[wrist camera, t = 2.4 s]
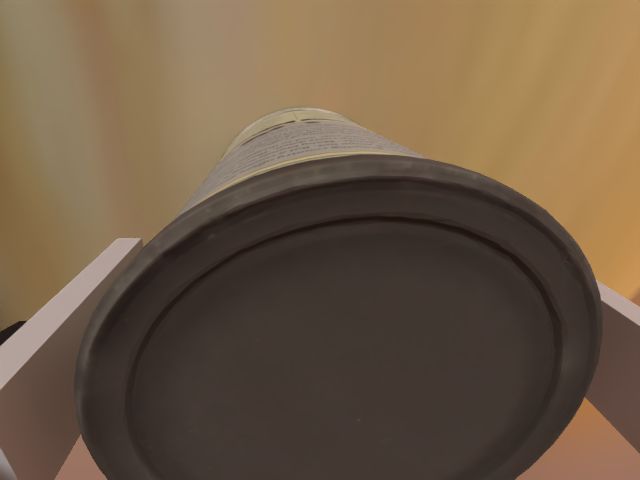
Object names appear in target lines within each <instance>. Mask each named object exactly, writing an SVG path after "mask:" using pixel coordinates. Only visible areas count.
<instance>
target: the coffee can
mask: <svg viewBox="0 0 640 480" xmlns="http://www.w3.org/2000/svg"><path fill="white" fill-rule="evenodd" d="M602 322H603V313H602V303H601V296H600V292H599V289H598V285H597V282H596V279H595V276H594V274H593V271H592V269H591V266H590V264H589V262H588V261H587V259H586V257H585V255H584V254H583V252H582V250H581V248H580V247H579V245H578V244H577V243H576V241H575V240H574V239H573V238H572V236H571V235H570V234H569V233H568V232H567V231H566V230H565V229H564V227H562V226H561V225H560V224H559V223H558V222H557V221H556V220H555V219H554V218H553V217H552V216H551V215H550V214H549V213H548V212H547V211H546V210H545V209H543V208H542V207H540V206H539V205H537V204H536V203H534V202H533V201H532V200H530V199H529V198H527V197H525V196H524V195H522V194H520V193H518V192H517V191H515V190H513V189H512V188H510V187H508V186H506V185H504V184H502V183H500V182H498V181H496V180H494V179H491V178H489V177H487V176H484V175H482V174H480V173H477V172H474V171H471V170H468V169H465V168H461V167H458V166H455V165H452V164H447V163H443V162H439V161H434V160H431V159H429V158H427V157H425V156H423V155H420V154H418V153H416V152H414V151H412V150H410V149H408V148H406V147H404V146H401V145H399V144H397V143H395V142H393V141H391V140H389V139H387V138H385V137H382V136H380V135H378V134H376V133H374V132H372V131H370V130H368V129H365V128H363V127H361V126H359V125H358V124H356V123H355V122H353V121H351V120H350V119H348V118H346V117H344V116H342V115H339V114H337V113H334V112H331V111H328V110H323V109H318V108H306V107H301V108H290V109H283V110H280V111H276V112H274V113H271V114H269V115H266V116H264V117H262V118H260V119H258V120H257V121H255V122H254V123H252V124H251V125H249V126H248V127H246V128H245V129H244V130H243V131H242V132H241V133H240V134H239V135H238V136H237V137H236V138H235V139H234V140H233V142H232V143H231V144H230V146H229V147H228V149H227V150H226V152H225V153H224V155H223V156H222V159H221V160H220V161H219V163H218V164H217V165H216V167H215V168H214V169H213V170H212V172H211V173H210V174H209V176H208V177H207V178H206V180H205V181H204V182H203V184H202V185H201V186H200V187H199V189H198V190H197V191H196V192H195V194H194V195H193V196H192V198H191V199H190V200H189V202H188V203H187V204H186V205H185V207H184V208H183V209H182V211H181V212H180V213H179V214H178V216H177V217H176V218H175V220H174V221H173V222H171V223H170V224H169V225H168V226H166V227H165V228H164V229H163V230H162V231H161V232H160V233H159V234H157V235H156V236H155V237H154V238H153V239H152V240H151V241H150V242H149V243H148V244H147V245H145V246H144V247H143V248H142V249H141V250H140V252H139V253H138V254H137V255H136V256H135V257H134V258H133V259H132V260H131V262H130V263H129V264H128V265H127V266H126V267H125V268H124V270H123V271H122V272H121V273H120V275H119V276H118V277H117V278H116V279H115V280H114V282H113V283H112V284H111V286H110V287H109V289H108V290H107V291H106V293H105V294H104V296H103V297H102V299H101V301H100V302H99V304H98V306H97V307H96V309H95V311H94V312H93V314H92V316H91V318H90V321H89V323H88V325H87V328H86V330H85V332H84V335H83V338H82V341H81V344H80V347H79V351H78V355H77V360H76V368H75V376H74V390H73V391H74V401H75V409H76V417H77V422H78V425H79V428H80V432H81V435H82V438H83V441H84V442H85V444H86V446H87V448H88V450H89V452H90V454H91V456H92V458H93V459H94V461H95V462H96V464H97V466H98V467H99V469H100V470H101V471H102V473H103V474H104V475H105V476H106V478H107V479H108V480H515V479H516V478H517V477H518V476H519V475H520V474H522V473H523V472H525V471H526V470H527V469H529V468H530V467H531V466H532V465H533V464H534V463H535V462H536V461H537V460H538V459H539V458H540V457H541V456H542V455H543V454H544V452H546V451H547V450H548V449H549V448H550V447H551V446H552V445H553V444H554V442H555V441H556V440H557V439H558V437H559V436H560V435H561V433H562V432H563V431H564V429H565V428H566V427H567V425H568V424H569V423H570V422H571V420H572V419H573V417H574V415H575V414H576V412H577V410H578V409H579V407H580V405H581V403H582V401H583V399H584V397H585V395H586V393H587V391H588V388H589V386H590V384H591V381H592V379H593V376H594V373H595V370H596V368H597V365H598V361H599V356H600V349H601V343H602V335H603V327H602Z"/></svg>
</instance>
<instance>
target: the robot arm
mask: <svg viewBox="0 0 640 480" xmlns="http://www.w3.org/2000/svg"><path fill="white" fill-rule="evenodd" d="M142 248H143V242H142V238H117V239H116V240H115V241H114V242H113V243H112V244H111V245H110V246H109V247H108V248H107V249H105V250H104V251H103V252H102V253H101V254H100V255H99V256H98V257H97V258H96V259H95V260H94V261H92V262H91V263H90V264H89V265H88V266H87V267H86V268H85V269H84V270H83V271H82V272H80V273H79V274H78V275H77V276H76V277H75V278H74V279H73V280H72V281H71V282H70V283H68V284H67V285H66V286H65V287H64V288H63V289H62V290H61V291H60V292H59V293H58V294H57V295H55V296H54V297H53V298H52V299H51V300H50V301H49V302H48V303H47V304H46V305H45V306H43V307H42V308H41V309H40V310H39V311H38V312H37V313H36V314H35V315H34V316H33V317H32V318H30V319H29V320H28V321H19V322H17V323H15V324H14V325H12V326H10V327H8V328H6V329H5V330H3V331H1V332H0V480H54V479H55V477H56V475H57V474H58V472H59V470H60V469H61V467H62V465H63V463H64V461H65V460H66V458H67V456H68V455H69V453H70V451H71V450H72V448H73V446H74V445H75V443H76V441H77V439H78V438H79V436H80V434H81V432H80V428H79V425H78V422H77V417H76V409H75V401H74V391H73V390H74V376H75V368H76V360H77V355H78V351H79V347H80V344H81V341H82V338H83V335H84V332H85V330H86V328H87V325H88V323H89V321H90V318H91V316H92V314H93V312H94V311H95V309H96V307H97V306H98V304H99V302H100V301H101V299H102V297H103V296H104V294H105V293H106V291H107V290H108V289H109V287H110V286H111V284H112V283H113V282H114V280H115V279H116V278H117V277H118V276H119V275H120V273H121V272H122V271H123V270H124V268H125V267H126V266H127V265H128V264H129V263H130V262H131V260H132V259H133V258H134V257H135V256H136V255H137V254H138V253H139V252H140V250H141V249H142ZM596 282H597V285H598V289H599V292H600V296H601V303H602V313H603V322H602V327H603V335H602V343H601V349H600V356H599V361H598V365H597V368H596V370H595V373H594V376H593V379H592V381H591V384H590V386H589V388H588V391H587V393H586V395H585V397H586V398H587V399H588V401H589V402H590V403H591V404H592V405H593V406H594V407H595V408H596V409H597V410H598V411H599V412H600V413H601V414H602V415H603V416H604V417H605V418H606V419H607V420H608V421H609V422H610V423H611V424H612V425H613V426H614V427H615V428H616V429H617V430H618V431H619V432H620V433H621V435H622V436H623V437H624V438H625V439H626V440H627V441H628V442H629V443H630V444H631V445H632V446H633V447H634V448H635V449H636V450H637V451H638V452H639V453H640V307H639V306H637V305H636V304H634V303H632V302H631V301H629V300H628V299H626V298H624V297H623V296H621V295H620V294H618V293H616V292H615V291H613V290H612V289H610V288H608V287H607V286H605V285H604V284H602V283H600V282H599V281H597V280H596Z"/></svg>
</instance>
